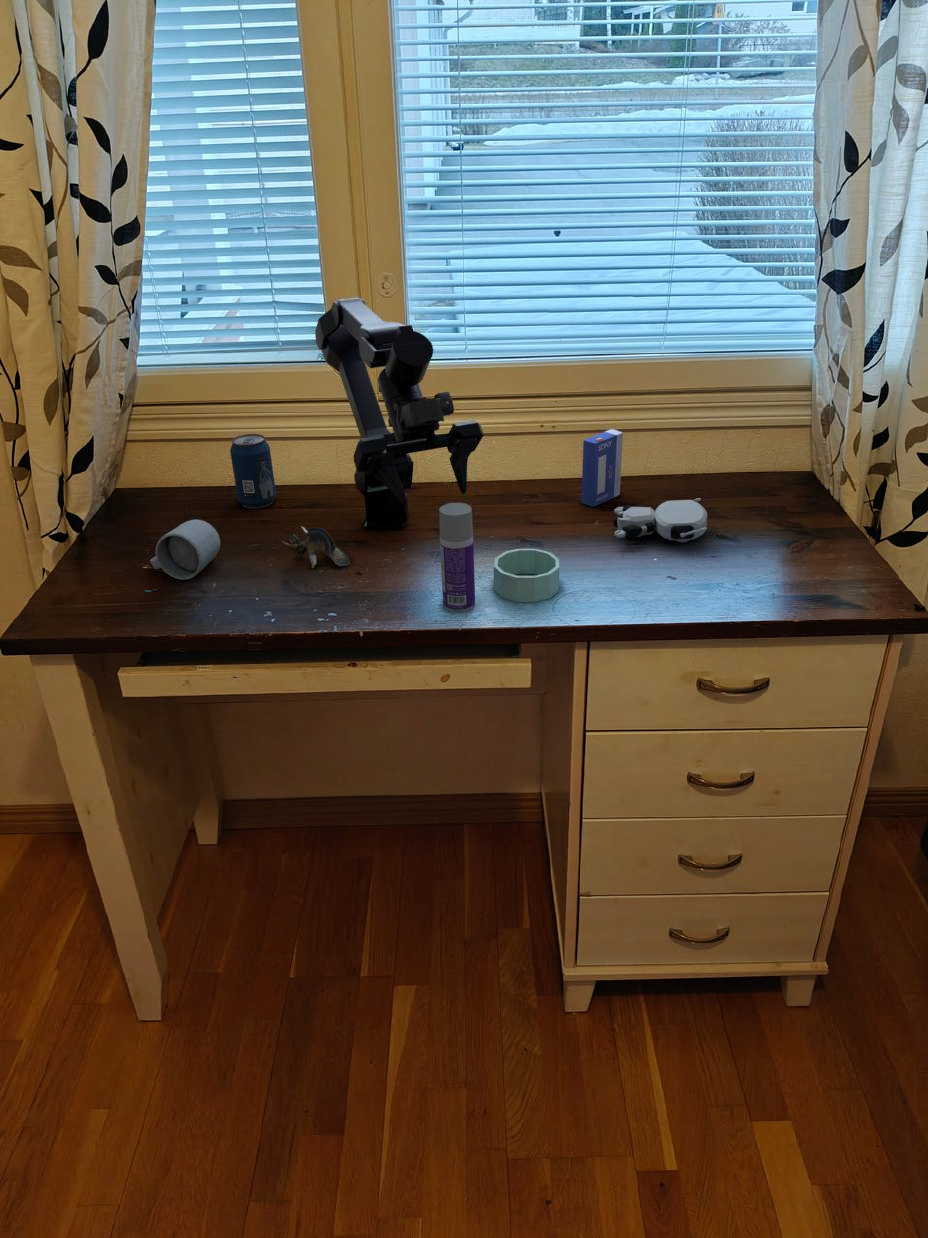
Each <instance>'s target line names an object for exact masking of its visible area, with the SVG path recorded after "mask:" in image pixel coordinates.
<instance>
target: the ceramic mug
mask: <svg viewBox="0 0 928 1238" xmlns="http://www.w3.org/2000/svg"><path fill="white" fill-rule="evenodd" d="M221 543H222V542H221V537H220V535H219V533H218V531H217V530H216V528H215V527H214V526H213V525H211V523H209V522H207V521H205V520H202V519H190V520H186V521H185V522H183V523H181V524H179V525H178V526H177V527H175V528H174V529H172V530H170V531H169V532H168V533H165V534H164V535H162V536H161V537H160V539H158V541H157V543H156V546H155V551H154V553H155V556H153V557H152V558H151V559H150V560H149V562H150V564H151V566H152V568H153V569H154V570H159V569H161V570H162V571H163V572H164V573H166V574H167V575H169V577H171V578H174V579H176V580H182V581H186V580H192V579H193V578H195V577H196V576H197V575H199V573H201V572H202V571H203V570H204V569H205V568H206V567H207V566H208V565H209V564H210V563H211V562H212V561H213V560H214V559H215V558H216V557H217V556H218V553H219V552H220V549H221Z"/></svg>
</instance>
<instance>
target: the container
mask: <svg viewBox="0 0 928 1238" xmlns="http://www.w3.org/2000/svg"><path fill="white" fill-rule="evenodd" d="M472 509H473V508H472V506H471V505H470V504H468V503H464V502H450V503H445V504H443V505H441V506H440V507H439V511H438V513H439V515H438V516H439V547H440V548H439V552H440V569H441V570H440V572H441V574H440V575H441V592H442V606H443V608H444V609H445V610H446V611H448V612H450V613H457V614H459V613H461V614H462V613H466V612H469V611H471V610H473V609H474V608H475V606H476V585H475V584H476V583H475V582H476V581H475V579H476V578H475V549H474V548H475V547H474V546H475V544H474V543H475V541H474V527H473V526H474V525H473V510H472Z"/></svg>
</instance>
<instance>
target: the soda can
mask: <svg viewBox="0 0 928 1238" xmlns="http://www.w3.org/2000/svg"><path fill="white" fill-rule="evenodd" d="M229 452H230V459H231V460H230V461H231V467H232V472H233V478H234V479H233V480H234V485H235V490H236V492H235V493H236V498H237V500H238V501H239V503H240V504H241V505H242V507H244V508H246V509H262V508H266V507H269V506H271V505H272V504H273V503H274V500H275V499H276V496H277V490H276V489H277V488H276V482H275V477H274V467H273V462H272V461H273V460H272V455H271V454H272V453H271V447H270V444H269V443H268V442H267V441H266V437H265V435H262V434H257V433H248V434H242V435H237V436H235V437H233V438H232V439H231V447H230V451H229Z"/></svg>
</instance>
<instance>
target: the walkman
mask: <svg viewBox="0 0 928 1238" xmlns="http://www.w3.org/2000/svg"><path fill="white" fill-rule="evenodd" d="M623 436H624V432H623V431H619V430H617V429H614V428H610V429H608V430H605V431H603V432H600V433H598V434H596V435H593V436H589V437H588V438H586V439H583V440H582V441H583V442H582V443H583V444H582V470H581V471H582V473H581V474H582V476H581V504H583V505H586V506H590V507H592V508H593V507H597V506H598V505H601V504H603V503H605V502H607V501H609V500H612V499H614V498H617V497H618V496H620V495H621V480H622V479H621V478H622V460H623V441H624V437H623Z"/></svg>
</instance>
